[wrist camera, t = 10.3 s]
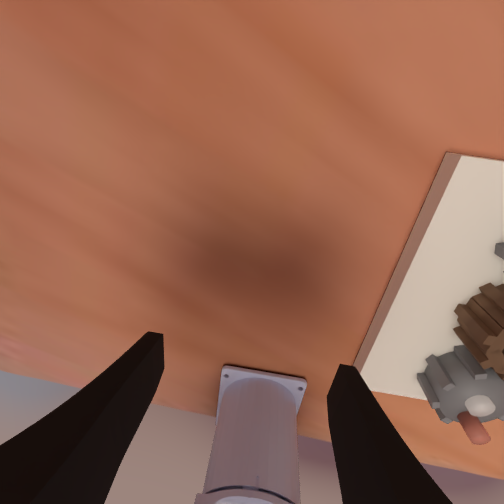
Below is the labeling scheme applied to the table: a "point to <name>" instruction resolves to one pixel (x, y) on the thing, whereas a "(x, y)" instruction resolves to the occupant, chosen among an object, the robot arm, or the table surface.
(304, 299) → the table surface
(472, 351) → the walnut gear
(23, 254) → the table surface
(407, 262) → the gear board
